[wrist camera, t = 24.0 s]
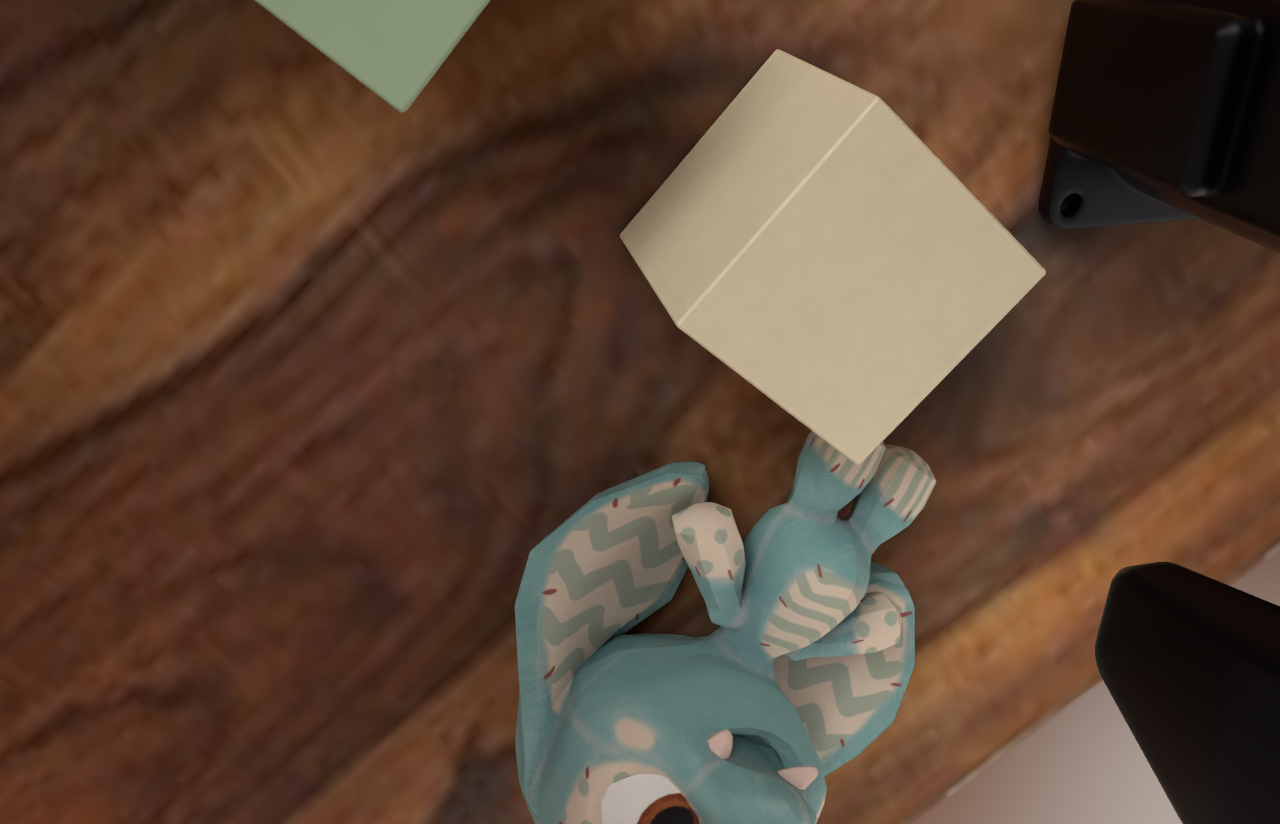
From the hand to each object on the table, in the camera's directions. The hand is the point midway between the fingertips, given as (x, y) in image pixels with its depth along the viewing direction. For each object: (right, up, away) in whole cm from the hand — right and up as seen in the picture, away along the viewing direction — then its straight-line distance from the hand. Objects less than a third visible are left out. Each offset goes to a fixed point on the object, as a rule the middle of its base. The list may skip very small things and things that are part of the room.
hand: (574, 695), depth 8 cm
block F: (+3, +6, +13) cm, 14 cm away
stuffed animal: (+2, -2, +17) cm, 17 cm away
